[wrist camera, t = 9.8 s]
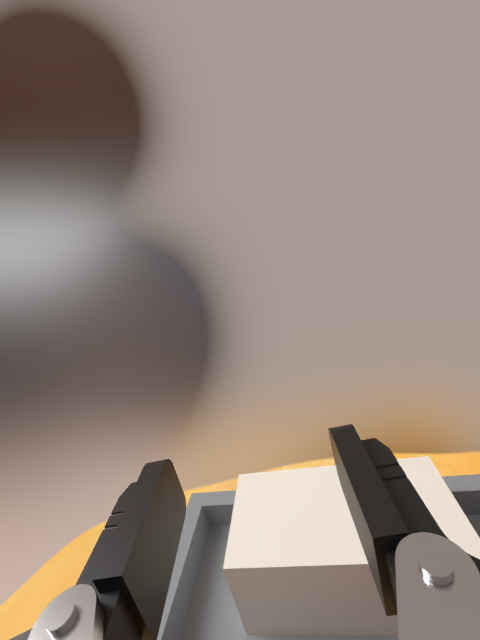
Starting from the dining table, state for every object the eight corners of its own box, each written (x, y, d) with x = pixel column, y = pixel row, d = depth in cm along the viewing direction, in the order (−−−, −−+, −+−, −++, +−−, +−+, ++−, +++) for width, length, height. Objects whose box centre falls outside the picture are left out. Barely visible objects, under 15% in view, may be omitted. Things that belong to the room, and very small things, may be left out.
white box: (246, 634, 17) (222, 568, 15) (255, 529, 22) (238, 474, 21) (494, 636, 14) (493, 559, 13) (434, 518, 20) (428, 456, 19)
